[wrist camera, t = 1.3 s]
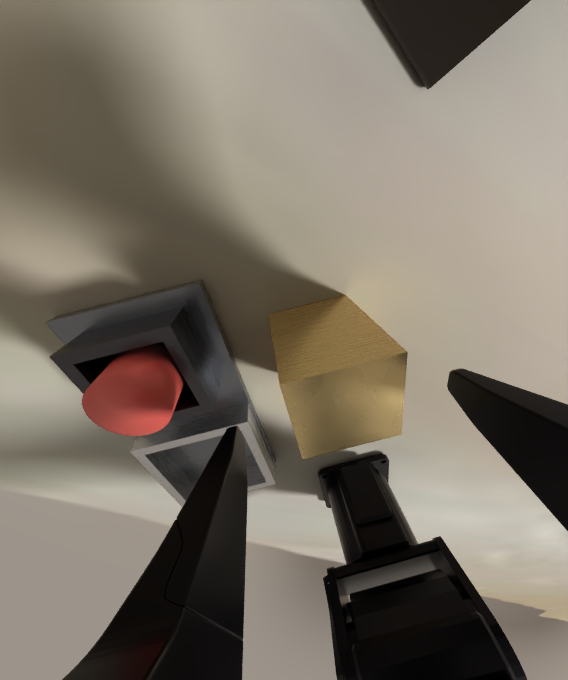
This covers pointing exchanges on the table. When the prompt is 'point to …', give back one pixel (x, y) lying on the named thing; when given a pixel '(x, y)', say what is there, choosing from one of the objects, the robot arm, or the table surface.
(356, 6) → the table surface
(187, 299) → the ball holder tray
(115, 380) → the red rounded part
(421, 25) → the phone stand
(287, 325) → the billet
